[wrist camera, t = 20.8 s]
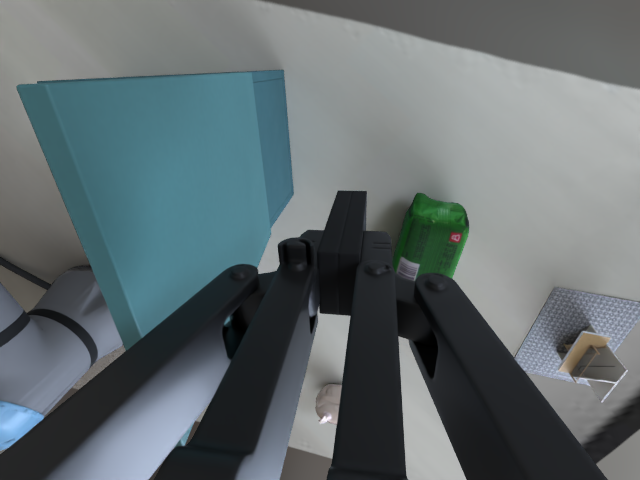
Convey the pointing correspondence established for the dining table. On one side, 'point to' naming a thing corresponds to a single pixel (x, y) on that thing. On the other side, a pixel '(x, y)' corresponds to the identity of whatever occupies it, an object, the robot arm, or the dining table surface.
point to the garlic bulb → (328, 403)
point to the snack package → (430, 238)
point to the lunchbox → (264, 135)
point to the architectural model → (579, 339)
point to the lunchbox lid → (156, 184)
